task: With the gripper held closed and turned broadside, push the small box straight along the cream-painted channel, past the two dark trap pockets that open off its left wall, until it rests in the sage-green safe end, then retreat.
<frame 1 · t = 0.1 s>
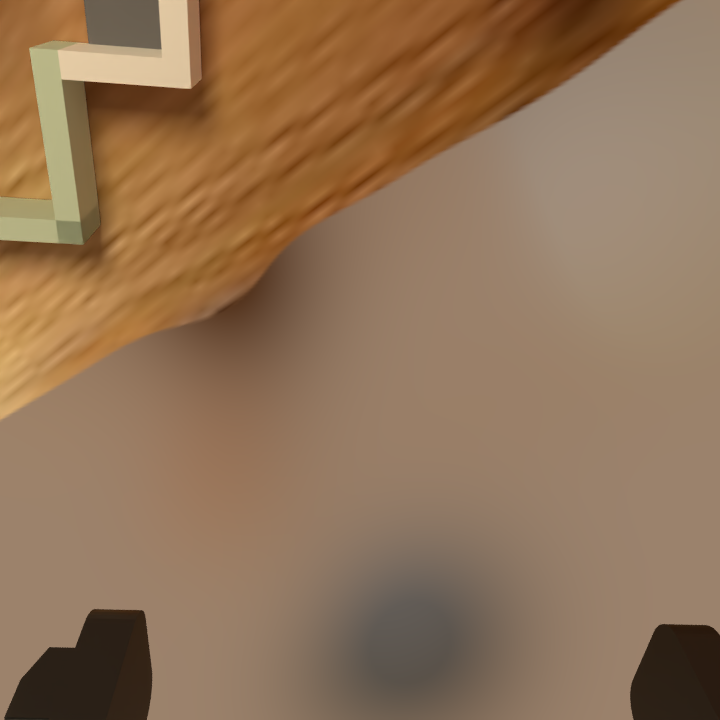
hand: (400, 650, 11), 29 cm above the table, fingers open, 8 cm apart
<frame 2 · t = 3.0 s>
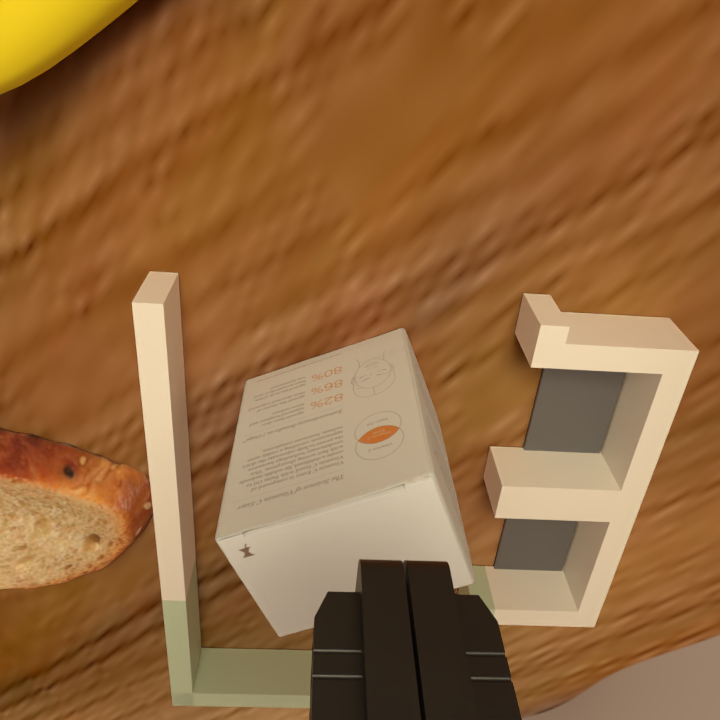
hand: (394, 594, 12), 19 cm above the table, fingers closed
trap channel: (335, 507, 36), on the table
small box: (344, 395, 33), on the table
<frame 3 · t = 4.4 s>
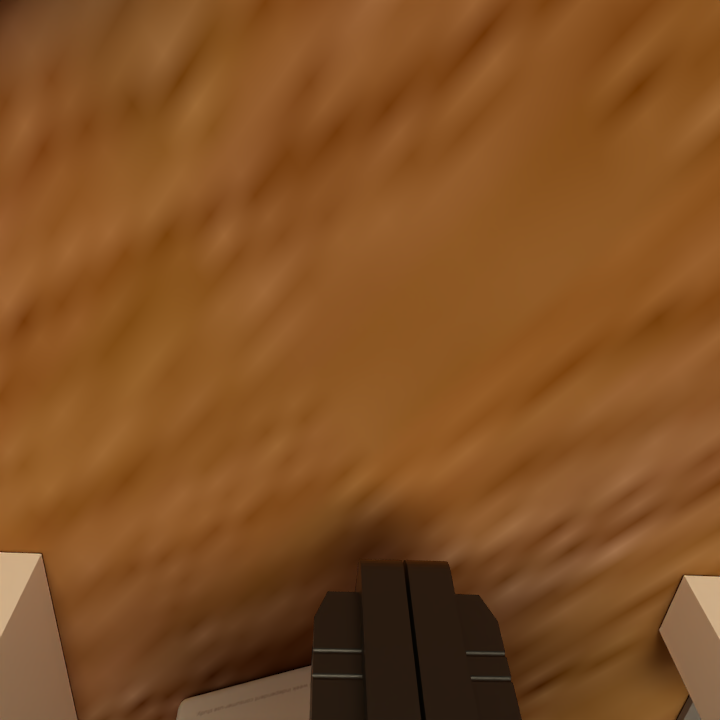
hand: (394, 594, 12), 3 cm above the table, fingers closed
small box: (353, 709, 19), on the table
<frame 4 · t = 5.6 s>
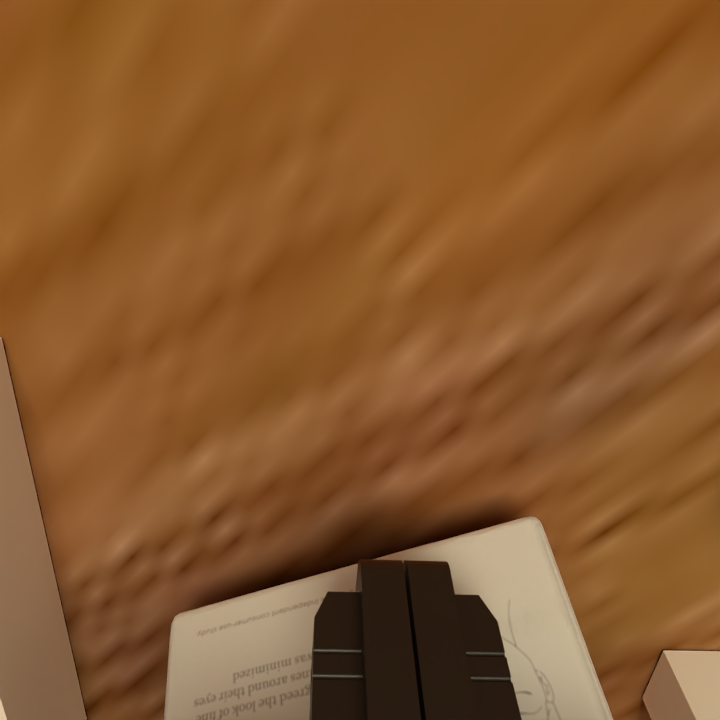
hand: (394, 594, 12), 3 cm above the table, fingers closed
small box: (384, 606, 16), on the table, touching gripper
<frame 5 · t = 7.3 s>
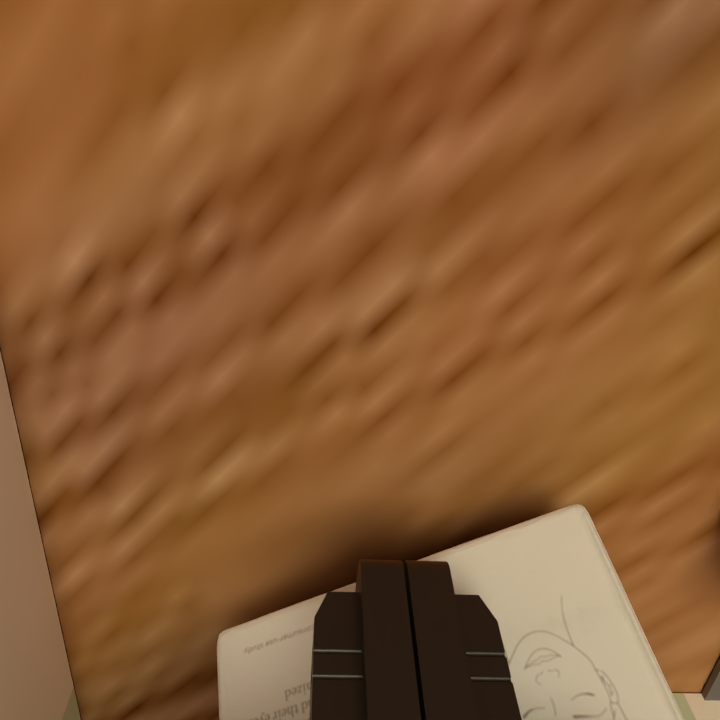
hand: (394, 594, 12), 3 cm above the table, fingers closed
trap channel: (377, 583, 16), on the table
small box: (430, 600, 16), point 1 cm above the table, touching gripper
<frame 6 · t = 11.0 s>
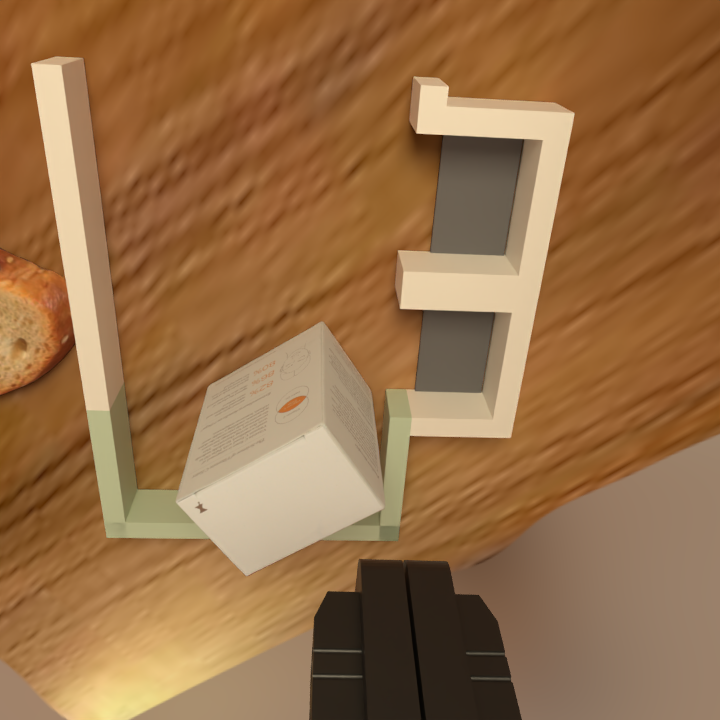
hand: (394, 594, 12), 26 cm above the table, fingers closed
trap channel: (255, 322, 38), on the table
small box: (291, 385, 40), on the table
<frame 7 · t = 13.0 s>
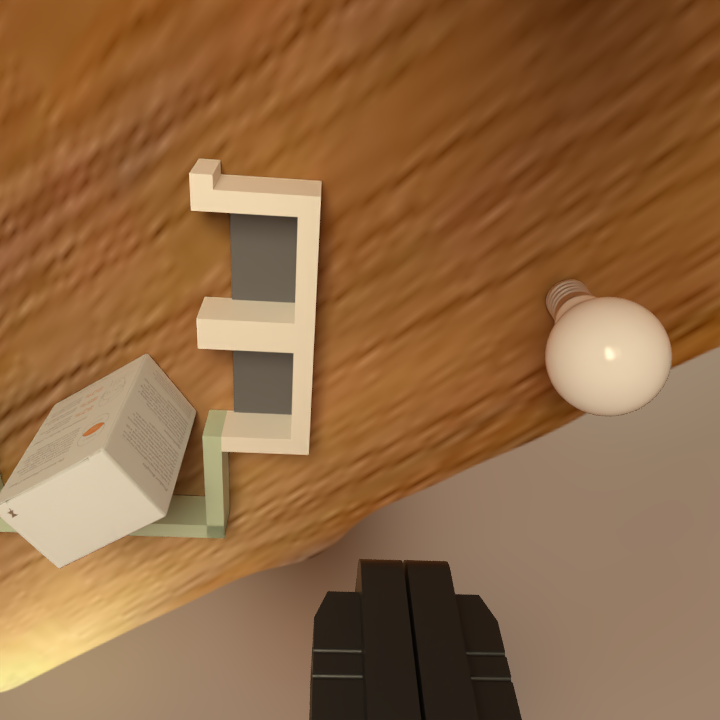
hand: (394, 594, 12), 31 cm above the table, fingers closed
lightbulb: (563, 292, 44), on the table
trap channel: (89, 353, 44), on the table
small box: (128, 404, 47), on the table
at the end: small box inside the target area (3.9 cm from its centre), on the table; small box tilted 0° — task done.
